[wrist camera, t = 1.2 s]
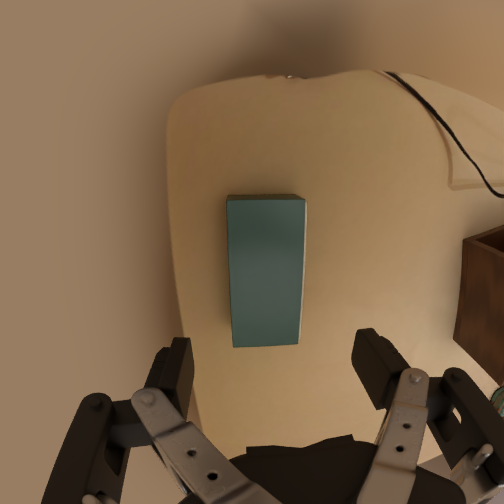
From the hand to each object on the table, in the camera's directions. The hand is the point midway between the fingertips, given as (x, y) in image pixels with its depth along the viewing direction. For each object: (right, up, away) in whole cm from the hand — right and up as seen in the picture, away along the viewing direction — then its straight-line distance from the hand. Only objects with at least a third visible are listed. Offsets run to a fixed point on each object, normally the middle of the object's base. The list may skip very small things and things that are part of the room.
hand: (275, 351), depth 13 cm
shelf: (+33, +2, +14) cm, 36 cm away
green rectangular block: (0, +4, +12) cm, 12 cm away
